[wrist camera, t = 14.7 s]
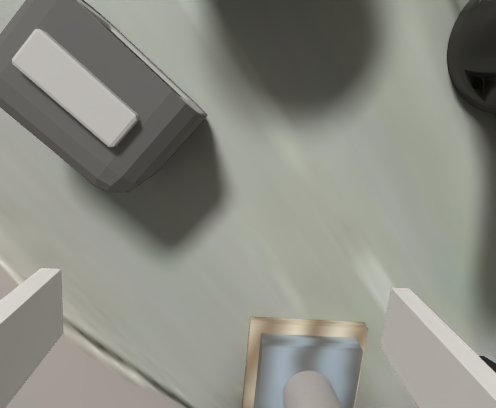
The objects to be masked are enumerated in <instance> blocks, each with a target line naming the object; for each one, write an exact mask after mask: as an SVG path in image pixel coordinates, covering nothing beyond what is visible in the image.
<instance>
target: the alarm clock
mask: <svg viewBox="0 0 496 408" xmlns="http://www.w3.org/2000/svg"><path fill="white" fill-rule="evenodd" d="M0 107H1V108H2V109H3V110H4V111H6V112H7V113H8V114H9V115H10V116H12V117H13V118H14V119H15V120H16V121H18V122H19V123H20V124H21V125H22V126H24V127H25V128H26V129H27V130H28V131H30V132H31V133H32V134H33V135H34V136H36V137H37V138H38V139H39V140H40V141H42V142H43V143H44V144H45V145H47V146H48V147H49V148H50V149H51V150H53V151H54V152H55V153H56V154H57V155H59V156H60V157H61V158H62V159H63V160H65V161H66V162H67V163H68V164H69V165H71V166H72V167H73V168H74V169H75V170H77V171H78V172H79V173H80V174H81V175H83V176H84V177H85V178H86V179H87V180H89V181H90V182H91V183H92V184H93V185H95V186H97V187H99V188H101V189H103V190H104V191H106V192H128V191H130V190H132V189H133V188H135V187H136V186H138V185H139V184H141V183H142V182H144V181H145V180H146V179H148V178H149V177H150V176H152V175H153V174H154V173H156V172H157V171H159V169H160V168H161V167H162V166H163V165H164V164H165V163H166V162H167V161H168V159H169V158H170V157H171V156H172V155H173V154H174V153H175V152H176V150H177V149H178V148H179V147H180V146H181V145H182V144H183V143H184V141H185V140H186V139H187V138H188V137H189V136H190V135H191V134H192V132H193V131H194V130H195V129H196V128H197V127H198V126H199V125H200V124H201V122H202V121H203V120H204V119H205V118H206V117H207V116H208V115H207V114H206V113H205V112H204V111H203V110H202V109H201V108H200V107H199V106H198V105H197V104H196V103H195V102H194V101H193V100H192V99H191V98H190V97H189V96H188V95H187V94H186V93H184V92H183V91H182V90H181V89H180V88H179V87H178V86H177V85H176V84H175V83H174V82H173V81H172V80H171V79H170V78H168V77H167V76H166V75H165V74H164V73H163V72H162V71H161V70H160V69H159V68H158V67H157V66H156V65H155V64H154V63H153V62H151V61H150V60H149V59H148V58H147V57H146V56H145V55H144V54H143V53H142V52H141V51H140V50H139V49H138V48H137V47H135V46H134V45H133V44H132V43H131V42H130V41H129V40H128V39H127V38H126V37H125V36H124V35H123V34H122V33H121V32H120V31H118V30H117V29H116V28H115V27H114V26H113V25H112V24H111V23H110V22H109V21H108V20H106V19H105V18H104V17H103V16H102V15H101V14H100V13H99V12H97V11H96V10H95V9H94V8H93V7H91V6H90V5H89V4H88V3H86V2H85V1H84V0H26V1H25V2H24V4H23V5H22V6H21V7H20V9H19V10H18V11H17V13H16V14H15V15H14V17H13V18H12V19H11V21H10V22H9V23H8V25H7V26H6V27H5V29H4V30H3V31H2V32H1V34H0Z"/></svg>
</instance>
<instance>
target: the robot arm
mask: <svg viewBox="0 0 496 408" xmlns="http://www.w3.org/2000/svg"><path fill="white" fill-rule="evenodd" d="M448 66H449V71H450V75H451V78H452V81H453V83H454V85H455V87H456V89H457V90H458V92H459V93H460V94H461V95H462V97H463V98H464V99H465V100H466V101H468V102H469V103H470V104H472V105H473V106H475V107H477V108H479V109H481V110H484V111H487V112H492V113H496V0H470V1H469V2H468V3H467V5H466V6H465V7H464V8H463V10H462V11H461V13H460V14H459V16H458V18H457V20H456V22H455V24H454V26H453V29H452V32H451V35H450V40H449V45H448ZM62 334H63V307H62V279H61V269H47V268H40V269H39V270H38V271H37V272H35V273H34V274H33V275H32V276H30V277H29V278H28V279H27V280H25V281H24V282H23V283H22V284H20V285H19V286H18V287H17V288H15V289H14V290H13V291H12V292H10V293H9V294H8V295H7V296H5V297H4V298H3V299H1V300H0V408H6V406H7V405H8V404H9V402H10V401H11V400H12V399H13V397H14V396H15V395H16V393H17V392H18V391H19V389H20V388H21V387H22V386H23V384H24V383H25V381H26V380H27V379H28V378H29V377H30V375H31V374H32V373H33V371H34V370H35V369H36V367H37V366H38V365H39V364H40V362H41V361H42V360H43V358H44V357H45V356H46V355H47V353H48V352H49V351H50V350H51V348H52V347H53V346H54V344H55V343H56V342H57V340H58V339H59V338H60V337H61V335H62ZM380 348H381V349H382V351H383V353H384V354H385V356H386V357H387V359H388V360H389V362H390V363H391V365H392V367H393V368H394V370H395V371H396V373H397V374H398V376H399V377H400V379H401V381H402V382H403V384H404V385H405V387H406V388H407V390H408V391H409V393H410V395H411V396H412V398H413V399H414V401H415V402H416V404H417V406H418V407H419V408H496V363H494V362H492V361H491V360H489V359H488V358H486V357H484V356H478V355H477V354H476V353H475V352H474V351H473V350H472V349H471V348H470V347H469V346H468V345H467V344H465V343H464V342H463V341H462V340H461V339H460V338H459V337H458V336H457V335H456V334H455V333H454V332H453V331H452V330H451V329H450V328H449V327H448V326H447V325H446V324H445V323H444V322H443V321H442V320H441V319H440V318H439V317H438V316H437V315H436V314H435V313H434V312H433V311H432V310H431V309H430V308H429V307H427V306H426V305H425V304H424V303H423V302H422V301H421V300H420V299H419V298H418V297H417V296H416V295H415V294H414V293H413V292H412V291H411V290H410V289H405V288H391V291H390V296H389V302H388V307H387V313H386V318H385V324H384V330H383V335H382V341H381V346H380Z"/></svg>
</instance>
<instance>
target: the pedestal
mask: <svg viewBox="0 0 496 408" xmlns="http://www.w3.org/2000/svg"><path fill="white" fill-rule="evenodd" d="M367 332H368V327H367V326H366V324H365V323H364V322H345V321H325V320H305V319H285V318H266V317H250V324H249V335H248V346H247V357H246V369H245V380H244V391H243V402H242V408H284V405H283V388H284V385H285V383H286V382H287V381H288V379H289V378H290V377H292V376H293V375H295V374H296V373H299V372H302V371H316V372H319V373H321V374H323V375H324V376H325V377H326V378H327V379H328V380H329V382H330V383H331V385H332V387H333V389H334V391H335V393H336V395H337V397H338V399H339V401H340V403H341V405H342V407H343V408H355V403H356V397H357V391H358V385H359V379H360V373H361V367H362V361H363V356H364V350H365V344H366V338H367Z"/></svg>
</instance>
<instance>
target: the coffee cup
mask: <svg viewBox="0 0 496 408" xmlns="http://www.w3.org/2000/svg"><path fill="white" fill-rule="evenodd" d="M283 405H284V408H343V407H342V405H341V403H340V401H339V399H338V397H337V395H336V393H335V391H334V389H333V387H332V385H331V383H330V382H329V380H328V379H327V378H326V377H325V376H324V375H323V374H321V373H319V372H316V371H302V372H299V373H296V374H295V375H293V376H292V377H290V378H289V379H288V381H287V382H286V383H285V385H284V388H283Z"/></svg>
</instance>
